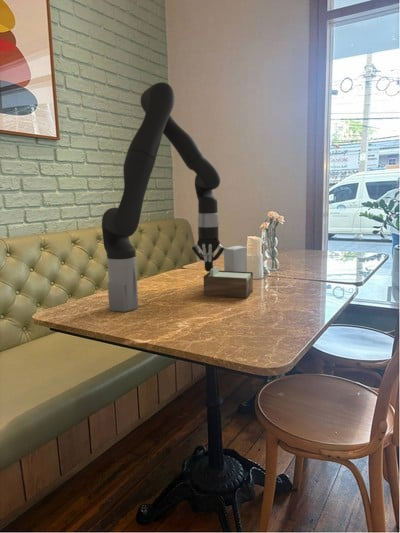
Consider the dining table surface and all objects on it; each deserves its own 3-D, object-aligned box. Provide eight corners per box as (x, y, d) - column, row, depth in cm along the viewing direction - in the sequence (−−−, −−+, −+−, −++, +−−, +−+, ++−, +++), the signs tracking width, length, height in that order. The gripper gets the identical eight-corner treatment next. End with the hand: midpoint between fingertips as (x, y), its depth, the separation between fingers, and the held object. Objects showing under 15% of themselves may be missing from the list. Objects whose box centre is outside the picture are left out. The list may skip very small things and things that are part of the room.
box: (246, 298, 140) (246, 278, 139) (203, 295, 145) (203, 276, 144) (252, 291, 150) (252, 272, 149) (212, 288, 155) (212, 270, 154)
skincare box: (237, 279, 171) (237, 245, 168) (247, 281, 166) (247, 246, 163) (223, 282, 166) (223, 247, 163) (233, 284, 161) (233, 248, 158)
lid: (245, 281, 140) (245, 272, 139) (206, 279, 144) (206, 270, 144) (251, 276, 149) (251, 267, 148) (214, 274, 153) (213, 265, 153)
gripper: (187, 226, 144) (189, 272, 147) (222, 226, 140) (223, 274, 143) (194, 224, 151) (195, 268, 154) (228, 224, 147) (228, 270, 150)
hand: (208, 271), depth 149 cm, fingers closed
